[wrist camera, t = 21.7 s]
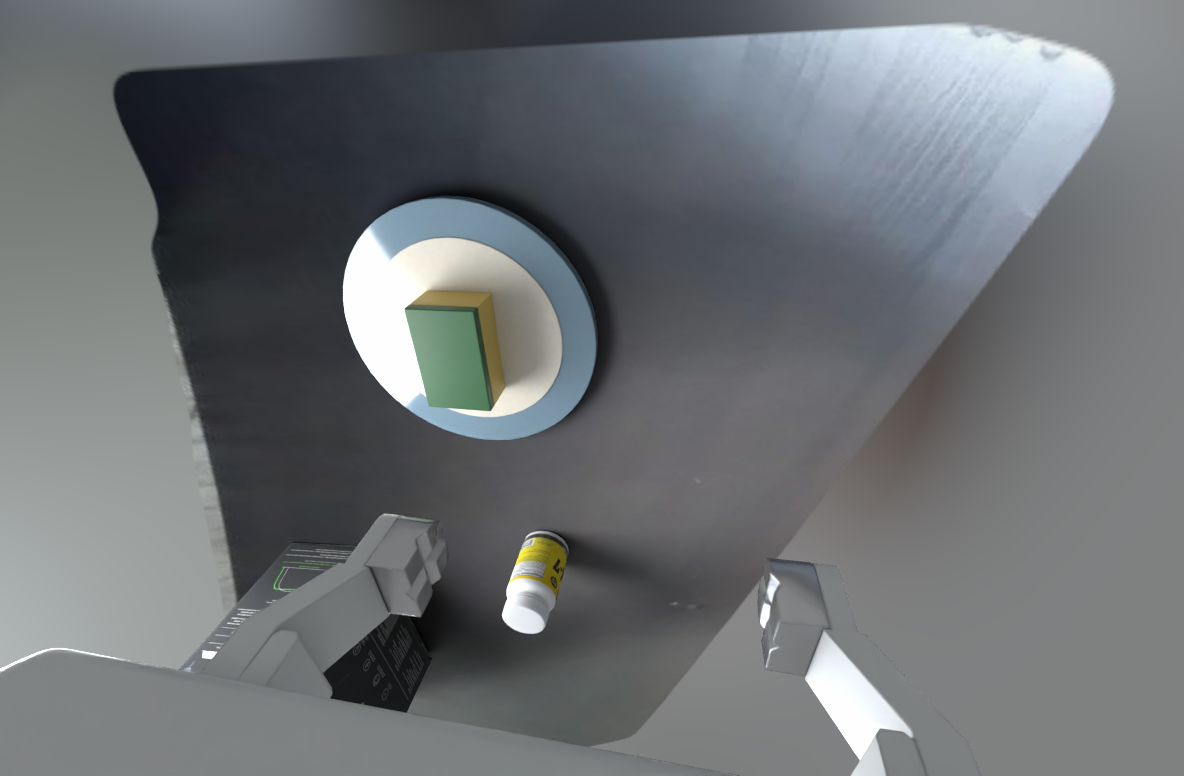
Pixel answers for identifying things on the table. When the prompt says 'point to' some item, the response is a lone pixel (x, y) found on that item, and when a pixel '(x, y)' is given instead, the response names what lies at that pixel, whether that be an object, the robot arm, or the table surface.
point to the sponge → (457, 349)
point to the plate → (485, 265)
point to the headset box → (363, 674)
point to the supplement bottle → (535, 582)
